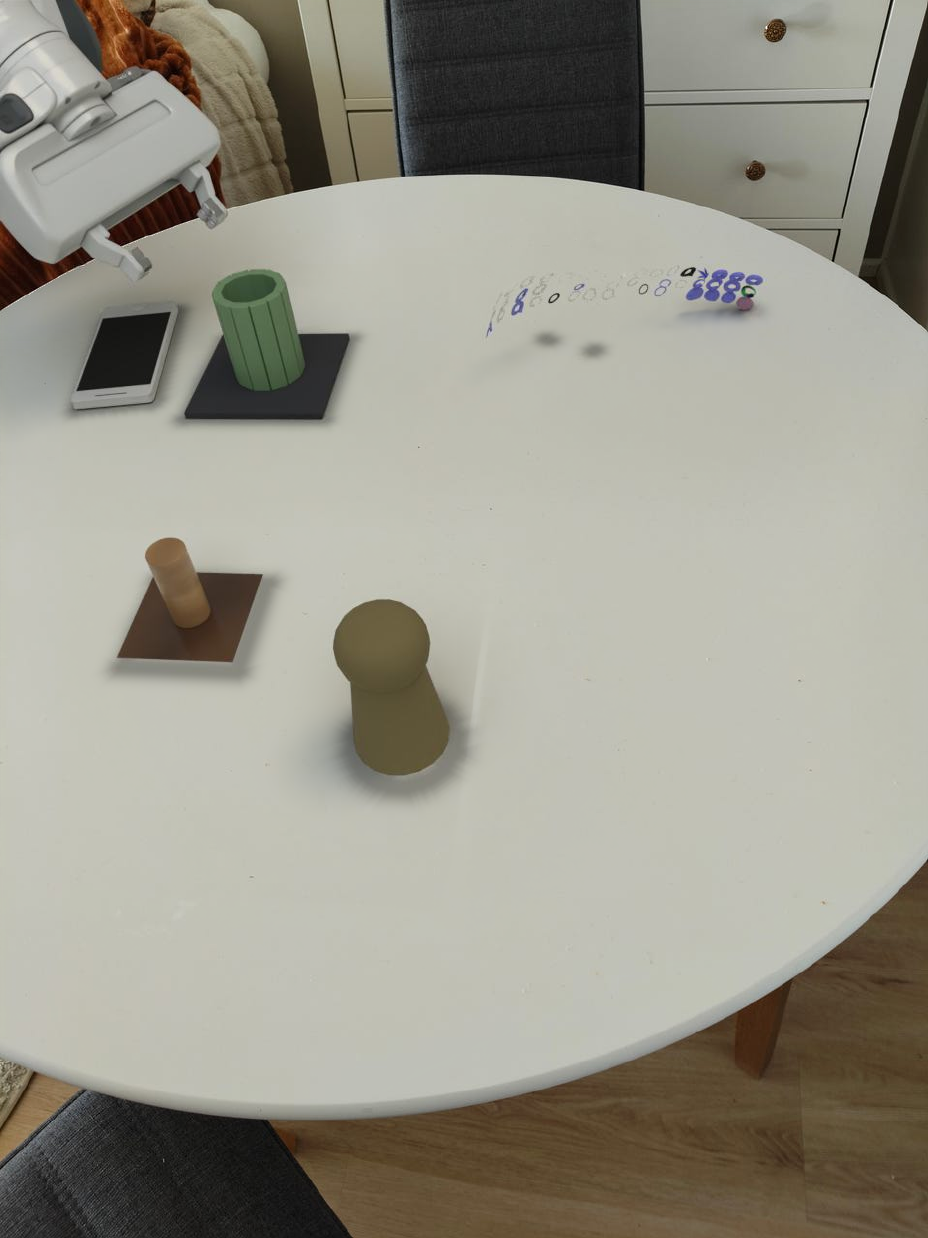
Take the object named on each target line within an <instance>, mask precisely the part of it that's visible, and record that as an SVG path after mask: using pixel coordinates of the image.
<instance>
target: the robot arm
mask: <svg viewBox="0 0 928 1238" xmlns="http://www.w3.org/2000/svg"><path fill="white" fill-rule="evenodd" d="M221 146H222V141H221V134H220V132H219V129H218V128H217V126H216V125H215V124H214V122H213V121H211V120H210V119H209V117H208V116H206V114H205V113H204V112H203V111H202V110H201V109H200V108H199V107H198V106H196V105H195V103H193V102H192V101H191V100H190V99H189V98H188V97H187V96H186V95H184V93H182V92H181V90H179V89H178V88H177V87H175V86H174V85H173V84H172V83H170V82H168V81H167V79H166V78H165V77H164V76H163V75H162V74H161V73H159V72H158V71H157V70H151V69H148V68H140V67H139V66H130V67H128V68H126V69H124V70H123V71H122V72H121V73H119V74H117V75H114V76H111V77H108V78H107V79H106V78H105V76H103V53H102V46H101V43H100V39H99V37H98V35H97V33H96V30H95V29H94V27H93V25H92V23H91V21H90V19H89V18H88V16H87V15H86V13H85V12H84V11H83V9H82V7H81V6H80V5H79V3H78V2H77V0H0V222H1V223H2V225H3V226H4V227H5V228H6V230H7V231H8V232H9V233H10V234H11V235H12V236H13V237H14V239H15V240H16V241H17V242H18V243H19V244H20V245H21V246H22V247H23V248H24V249H25V251H27V253H29V255H31V256H32V257H33V258H34V259H36V260H38V261H40V262H43V263H48V264H51V265H56V264H57V263H58V262H60V261H62V260H64V258H66V257H68V256H69V255H71V254H72V253H74V252H75V251H77V250H78V249H80V248H82V249H83V250H84V251H85V252H86V253H87V254H88V255H89V256H90V257H91V258H92V259H95V260H97V261H100V262H102V263H105V264H107V265H109V266H112V267H114V268H118V269H119V270H120V271H121V272H122V273H123V274H124V275H125V276H126V277H127V278H128V279H129V280H130V281H131V282H132V283H138V282H139V281H140V280H142V279H144V278H145V277H146V276H148V275H149V273H150V271H151V270H152V268H153V263H152V261H151V260H150V259H149V258H148V257H146V256H145V254H144V253H143V251H142V250H141V249H140V248H139V247H138V246H137V247H135V248H133V249H132V250H129V249H127V248H125V247H122V245H119V244H118V243H115V242H113V241H112V240H109V238H110V236H111V233H110V232H109V230H110V229H112V228H113V227H114V226H116V225H118V224H119V223H121V222H122V221H125V220H126V219H128V218H129V217H130V216H132V215H133V214H135V213H137V212H138V211H139V210H141V209H143V208H144V207H146V206H148V205H149V204H151V203H152V202H154V201H155V200H157V199H158V198H160V197H161V196H163V195H166V193H168V192H169V191H171V190H172V189H174V188H176V187H177V186H179V185H180V184H181V185H182V187H184V189H185V190H186V191H187V192H188V193H192V192H195V195H196V198H197V201H198V203H199V206H200V208H199V209H198V211H197V213H196V216H197V217H198V218H199V219H200V221H202V222H203V223H204V224H205V226H206V227H207V228H208V229H210V230H213V229H215V228H216V227H218V226H219V225H221V224H223V223H224V222H225V220H226V219H227V217H228V216H229V211H228V209H227V207H226V205H224V204H223V203H222V202H221V201H220V199H219V198H218V197H217V196H216V192H215V187H214V184H213V181H212V178H211V174H210V171H209V170H208V169H207V167H208V166H209V165H211V163H212V162H213V160H214V159H215V157H216V155H217V153H218V152H219V150H220V148H221Z"/></svg>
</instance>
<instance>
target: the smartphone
mask: <svg viewBox="0 0 928 1238" xmlns="http://www.w3.org/2000/svg"><path fill="white" fill-rule="evenodd" d="M178 313H179V307H178V304H177V302H176V300H170V301H159V302H151V303H149V302H148V303H139V304H128V305H120V306H109V307H106V308H104V310H103V311H102V314H101V315H100V318H99V322H98V323H97V327H96V330H95V332H94V335H93V338H92V341H91V343H90V346H89V349H88V351H87V354H86V357H85V359H84V362H83V365H82V368H81V369H80V373H79V376H78V378H77V381H76V384H75V387H74V389H73V392H72V395H71V398H70V402H71V404H72V406H73V408H74V409H75V410H83V409H95V408H104V407H105V408H106V407H114V406H125V405H135V404H136V405H137V404H146V403H151V402H153V401H154V399H155V397H156V394H157V390H158V387H159V383H160V380H161V375H162V372H163V369H164V365H165V362H166V357H167V354H168V351H169V346H170V343H171V341H172V340H171V339H172V336H173V333H174V330H175V329H174V328H175V325H176V322H177V319H178Z"/></svg>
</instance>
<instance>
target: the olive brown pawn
mask: <svg viewBox="0 0 928 1238" xmlns="http://www.w3.org/2000/svg"><path fill="white" fill-rule="evenodd" d="M430 649H431V638H430V634H429V631H428V627H427V624H426V623H425V621H424V619H423V618H422V617H421V615H420V614H419V613H418V612H417V611H416V610H415V609H413V608H412V607H410V606H409V605H407V604H405V603H404V602H401V601H398V600H394V599H391V598H388V599H387V598H385V599H384V598H380V599H379V598H378V599H377V598H376V599H373V600H369V601H365V602H363V603H360V604H359V605H357V606H355V607H353V608H352V609H350V610H349V611H348V612H347V613H346V614H345V615H343V617H342V619H341V620H340V622H339V623H338V626H337V627H336V628H335V631H334V636H333V642H332V651H333V655H334V660H335V663H336V666H337V668H338V669H339V670H340V672H341V674H342V675H343V676H344V677H345V679H346V680H347V681H348V682H349V686H350V703H351V704H350V705H351V719H352V720H351V721H352V734H353V735H352V736H353V744H354V748H355V752H356V754H357V756H358V757H359V759H360V760H361V761H362V763H363V764H364V765H365V766H367V767H368V768H370V769H371V770H372V771H374V772H377V773H380V774H383V775H386V776H408V775H411V774H415V773H419V772H422V771H423V770H425V769H426V768H429V767H430V766H432V765H433V764H435V762H436V761H437V760H438V759H439V758H440V757H441V756H442V755H443V754H444V753H445V750H446V748H447V746H448V744H449V742H450V734H451V733H450V731H451V728H450V724H449V721H448V718H447V715H446V712H445V709H444V707H443V705H442V702H441V700H440V697H439V695H438V692H437V690H436V687H435V684H434V681H433V679H432V678H431V674H430V672H429V670H428V669H429V668H428V667H427V663H428V661H429V657H430Z"/></svg>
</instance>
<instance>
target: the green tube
mask: <svg viewBox="0 0 928 1238" xmlns="http://www.w3.org/2000/svg"><path fill="white" fill-rule="evenodd" d="M211 297H212V302H213V304H214V308H215V312H216V315H217V318H218V321H219V325H220V328H221V331H222V335H224V338H225V342H226V345H227V348H228V352H229V355H230V358H231V362H232V365H233V368H234V372H235V375H236V378H237V380H238V382H239V384H240V385H242V386H244V387H246V388H248V389H251V390H254V391H270V390H271V389H272V390H275V389H278V388H282V387H285V386H288V384H291V383H292V382H294V381H295V380H296V379H298V378H299V377H300V375H302V373H303V370H304V368H305V361H304V357H303V353H302V348H301V344H300V340H299V336H298V334H299V332H298V328H297V327H298V326H297V324H296V323H297V322H296V319H295V315H294V314H295V313H294V310H293V305H292V302H291V298H290V297H291V296H290V294H289V288H288V285H287V281H286V279H285V278H284V276H283V275H282V274H281V273H279V272H277V271H274V270H271V269H265V268H259V269H257V268H254V269H253V268H252V269H245V270H242V271H237V272H234V273H232V274H229V275H227V276H226V277H224V278H223V279H221V280H219V281H218V282H217V283H216V284H215V286H214V288H213V290H212V291H211Z"/></svg>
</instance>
